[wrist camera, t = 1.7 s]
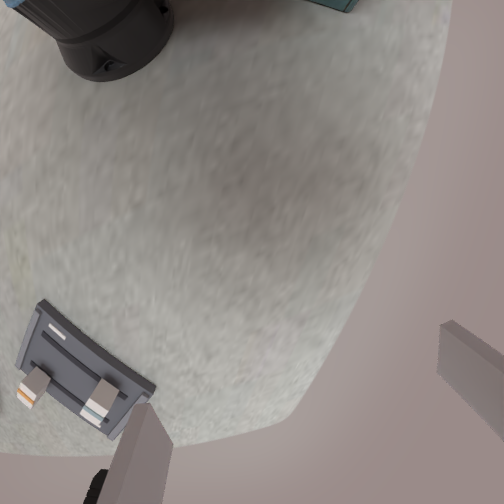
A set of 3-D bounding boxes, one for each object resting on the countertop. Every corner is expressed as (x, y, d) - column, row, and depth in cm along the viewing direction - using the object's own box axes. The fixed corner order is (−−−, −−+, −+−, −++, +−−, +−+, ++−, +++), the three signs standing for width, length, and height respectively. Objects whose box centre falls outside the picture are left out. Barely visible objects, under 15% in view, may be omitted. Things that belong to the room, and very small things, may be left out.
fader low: (34, 376, 35) (15, 397, 29) (40, 362, 34) (19, 382, 28) (48, 388, 35) (30, 410, 29) (54, 374, 35) (35, 396, 29)
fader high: (94, 389, 35) (78, 414, 29) (104, 373, 35) (88, 398, 29) (111, 400, 36) (97, 427, 30) (122, 385, 35) (108, 412, 29)
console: (21, 358, 37) (13, 366, 34) (44, 299, 35) (34, 305, 32) (117, 432, 40) (112, 443, 37) (156, 386, 38) (151, 397, 35)
